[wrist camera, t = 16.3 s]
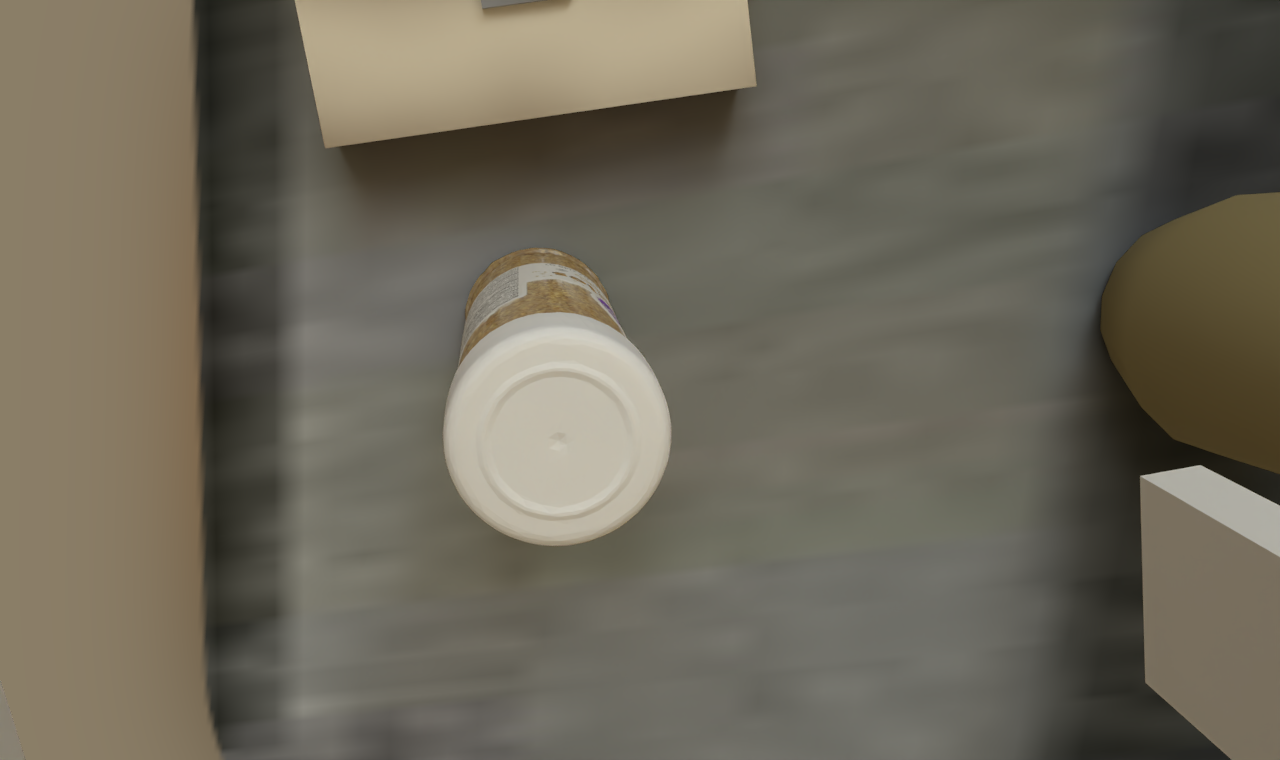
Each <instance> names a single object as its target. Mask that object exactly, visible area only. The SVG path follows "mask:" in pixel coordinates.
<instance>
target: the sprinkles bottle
mask: <svg viewBox="0 0 1280 760" xmlns="http://www.w3.org/2000/svg"><path fill="white" fill-rule="evenodd" d="M465 317H466V323H465V328H464V333H463V338H462V345H461V351H460V357H459V363H458V369H457V371H456V373H455V376H454V378H453V381H452V383H451V386H450V390H449V394H448V397H447V402H446V408H445V415H444V426H443V446H444V455H445V461H446V464H447V468H448V471H449V474H450V477H451V479H452V481H453V483H454V485H455V487H456V489H457V491H458V493H459V495H460V496H461V498H462V499H463V500H464V502H465V503H466V504H467V505H468V507H469V508H470V509H471V510H472V511H473V512H474V513H475V514H476V515H477V516H478V517H479V518H481V519H482V520H483V521H484V522H486V523H487V524H488V525H490V526H491V527H492V528H494V529H496V530H497V531H499V532H501V533H503V534H505V535H507V536H510V537H512V538H515V539H517V540H520V541H524V542H527V543H532V544H536V545H544V546H566V545H573V544H579V543H584V542H588V541H591V540H594V539H596V538H599V537H602V536H604V535H606V534H608V533H610V532H612V531H614V530H616V529H617V528H619V527H621V526H622V525H623V524H625V523H626V522H628V521H629V520H630V519H631V518H632V517H633V516H635V515H636V514H637V513H638V512H639V511H640V510H641V509H642V508H643V506H644V505H645V504H646V503H647V502H648V500H649V499H650V498H651V496H652V495H653V494H654V492H655V490H656V488H657V487H658V485H659V483H660V481H661V479H662V476H663V474H664V471H665V469H666V466H667V463H668V459H669V454H670V447H671V421H670V414H669V410H668V406H667V402H666V399H665V396H664V394H663V391H662V389H661V386H660V384H659V382H658V380H657V378H656V376H655V374H654V372H653V370H652V368H651V367H650V365H649V364H648V362H647V361H646V359H645V358H644V357H643V355H642V354H641V352H640V351H639V350H638V349H637V348H636V347H635V346H634V345H633V344H632V343H631V342H630V341H629V340H628V339H627V337H626V335H625V333H624V331H623V330H622V328H621V326H620V324H619V322H618V320H617V318H616V315H615V313H614V311H613V309H612V307H611V305H610V303H609V299H608V295H607V292H606V290H605V288H604V287H603V285H602V284H601V282H600V281H599V279H598V277H597V275H596V274H595V273H594V272H593V271H592V270H591V269H590V268H589V267H588V266H586V265H585V264H584V263H582V262H581V261H580V260H578V259H576V258H575V257H573V256H571V255H568V254H566V253H564V252H561V251H558V250H555V249H549V248H529V249H524V250H519V251H515V252H513V253H510V254H508V255H506V256H504V257H502V258H500V259H498V260H496V261H494V262H493V263H491V265H490V266H489V267H488V268H487V269H486V271H485V272H484V273H482V274H481V275H480V276H479V278H478V279H477V281H476V282H475V284H474V286H473V288H472V289H471V291H470V294H469V298H468V301H467V304H466V309H465Z"/></svg>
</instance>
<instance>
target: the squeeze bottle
mask: <svg viewBox="0 0 1280 760" xmlns="http://www.w3.org/2000/svg"><path fill="white" fill-rule="evenodd" d="M1100 331H1101V333H1102V336H1103V339H1104V342H1105V344H1106V347H1107V350H1108V353H1109V355H1110V358H1111V361H1112V362H1113V364H1114V365H1115V367H1116V369H1117V370H1118V372H1119V373H1120V375H1121V376H1122V378H1123V379H1124V381H1125V383H1126V384H1127V386H1128V387H1129V389H1130V390H1131V392H1132V394H1133V395H1134V397H1135V398H1136V400H1137V401H1138V403H1139V404H1140V406H1141V407H1142V408H1143V409H1144V410H1145V411H1146V412H1147V413H1148V414H1149V415H1150V416H1151V417H1152V418H1153V419H1154V420H1155V421H1156V422H1157V423H1158V424H1159V425H1160V426H1161V427H1162V428H1163V429H1164V430H1165V431H1166V432H1167V433H1168V434H1169V435H1170V436H1171V437H1172V438H1173V439H1174V440H1177V441H1180V442H1183V443H1186V444H1189V445H1192V446H1195V447H1198V448H1201V449H1204V450H1207V451H1209V452H1212V453H1215V454H1218V455H1222V456H1225V457H1228V458H1231V459H1234V460H1237V461H1240V462H1243V463H1246V464H1250V465H1253V466H1256V467H1259V468H1262V469H1265V470H1268V471H1271V472H1274V473H1278V474H1280V192H1278V193H1263V194H1248V195H1236V196H1233V197H1231V198H1228V199H1226V200H1223V201H1221V202H1218V203H1216V204H1213V205H1210V206H1208V207H1205V208H1203V209H1200V210H1198V211H1195V212H1193V213H1190V214H1187V215H1185V216H1182V217H1180V218H1177V219H1175V220H1172V221H1170V222H1168V223H1166V224H1164V225H1162V226H1160V227H1158V228H1156V229H1154V230H1152V231H1150V232H1148V233H1146V234H1144V235H1142V236H1141V237H1140V238H1139V239H1138V240H1137V241H1136V242H1135V243H1134V244H1133V245H1132V246H1131V247H1130V249H1129V250H1128V251H1127V252H1126V253H1125V254H1124V255H1123V256H1122V257H1121V258H1120V259H1119V260H1118V261H1117V262H1116V265H1115V267H1114V269H1113V272H1112V274H1111V276H1110V278H1109V281H1108V283H1107V285H1106V288H1105V290H1104V292H1103V295H1102V306H1101V326H1100Z"/></svg>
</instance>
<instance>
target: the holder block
mask: <svg viewBox="0 0 1280 760" xmlns="http://www.w3.org/2000/svg"><path fill="white" fill-rule="evenodd" d="M295 4H296V9H297V14H298V19H299V24H300V28H301V33H302V38H303V43H304V48H305V53H306V58H307V63H308V67H309V72H310V77H311V82H312V87H313V92H314V97H315V101H316V106H317V111H318V116H319V121H320V126H321V131H322V136H323V140H324V145H325V148H331V147H338V146H345V145H352V144H359V143H366V142H373V141H380V140H387V139H394V138H401V137H408V136H414V135H421V134H428V133H435V132H442V131H449V130H456V129H463V128H470V127H477V126H484V125H491V124H498V123H505V122H512V121H519V120H525V119H532V118H539V117H546V116H553V115H560V114H567V113H574V112H581V111H588V110H595V109H602V108H609V107H616V106H623V105H629V104H636V103H643V102H650V101H657V100H664V99H671V98H678V97H685V96H692V95H699V94H706V93H713V92H720V91H727V90H734V89H740V88H747V87H754V86H757V85H756V76H755V67H754V57H753V48H752V39H751V29H750V20H749V11H748V2H747V0H295Z"/></svg>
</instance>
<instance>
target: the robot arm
mask: <svg viewBox="0 0 1280 760" xmlns="http://www.w3.org/2000/svg"><path fill="white" fill-rule="evenodd" d="M1140 498H1141V537H1142V575H1143V614H1144V653H1145V683H1146V684H1148V685H1149V686H1150V687H1151V688H1152V689H1153V690H1154V691H1155V692H1157V693H1158V694H1159V695H1160V696H1161V697H1162V698H1163V699H1164V700H1165V701H1167V702H1168V703H1169V704H1170V705H1171V706H1172V707H1173V708H1174V709H1176V710H1177V711H1178V712H1179V713H1180V714H1181V715H1182V716H1183V717H1185V718H1186V719H1187V720H1188V721H1189V722H1190V723H1191V724H1192V725H1193V726H1195V727H1196V728H1197V729H1198V730H1199V731H1200V732H1201V733H1202V734H1204V735H1205V736H1206V737H1207V738H1208V739H1209V740H1210V741H1211V742H1213V743H1214V744H1215V745H1216V746H1217V747H1218V748H1219V749H1220V750H1221V751H1223V752H1224V753H1225V754H1226V755H1227V756H1228V757H1229V758H1230V759H1232V760H1280V506H1279V505H1277V504H1275V503H1273V502H1271V501H1270V500H1268V499H1266V498H1264V497H1262V496H1260V495H1258V494H1256V493H1254V492H1252V491H1250V490H1248V489H1246V488H1244V487H1242V486H1240V485H1238V484H1236V483H1234V482H1233V481H1231V480H1229V479H1227V478H1225V477H1223V476H1221V475H1219V474H1217V473H1215V472H1213V471H1211V470H1209V469H1207V468H1205V467H1203V466H1201V465H1198V466H1193V467H1187V468H1182V469H1176V470H1170V471H1165V472H1159V473H1154V474H1148V475H1143V476H1140ZM0 760H25V757H24V754H23V750H22V748H21V744H20V741H19V737H18V734H17V731H16V728H15V725H14V722H13V718H12V715H11V712H10V709H9V706H8V703H7V699H6V696H5V693H4V690H3V687H2V684H1V681H0Z"/></svg>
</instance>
